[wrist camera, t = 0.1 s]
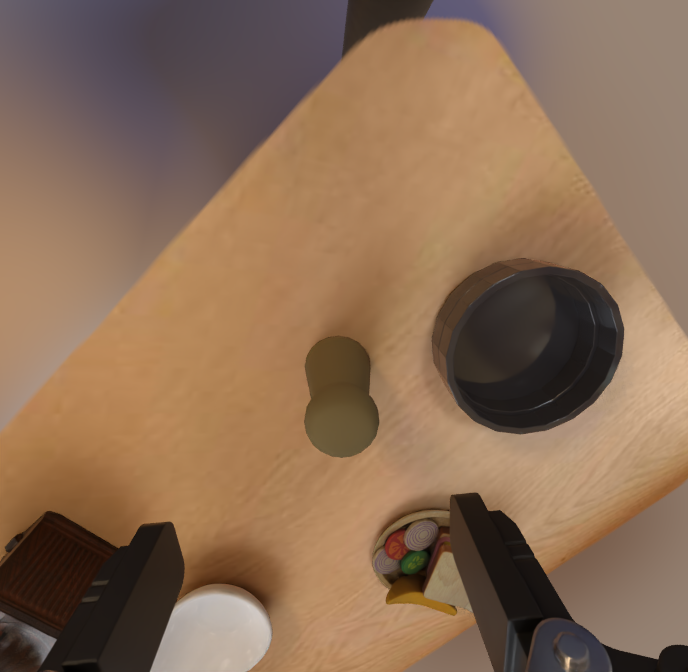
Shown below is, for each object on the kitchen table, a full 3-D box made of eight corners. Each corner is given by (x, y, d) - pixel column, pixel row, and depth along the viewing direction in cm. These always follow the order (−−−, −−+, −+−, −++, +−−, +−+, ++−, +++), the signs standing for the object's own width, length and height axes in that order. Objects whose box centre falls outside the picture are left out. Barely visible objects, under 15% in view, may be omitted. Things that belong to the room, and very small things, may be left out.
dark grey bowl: (398, 337, 35) (409, 358, 31) (524, 222, 33) (558, 225, 28) (493, 431, 39) (516, 462, 34) (613, 335, 36) (656, 355, 32)
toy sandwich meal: (398, 489, 41) (407, 525, 36) (510, 522, 43) (531, 559, 39) (354, 574, 45) (357, 616, 40) (459, 600, 47) (473, 643, 42)
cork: (372, 336, 35) (391, 392, 25) (368, 396, 37) (385, 472, 27) (304, 335, 35) (296, 392, 25) (304, 396, 37) (297, 472, 26)
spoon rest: (211, 548, 42) (189, 614, 36) (296, 596, 45) (291, 666, 38) (97, 665, 48) (60, 743, 41) (180, 702, 50) (158, 780, 44)
